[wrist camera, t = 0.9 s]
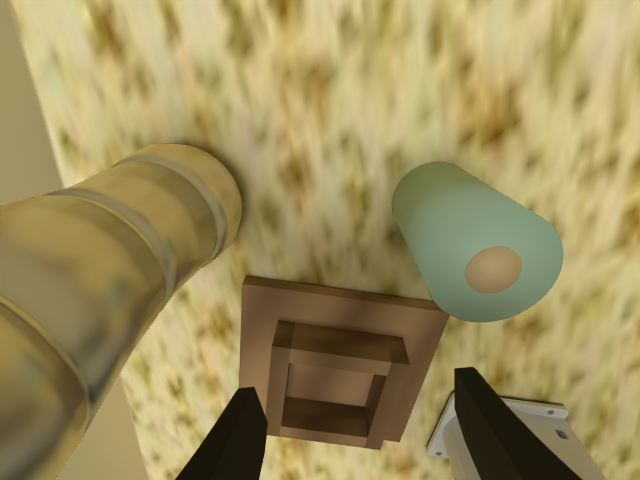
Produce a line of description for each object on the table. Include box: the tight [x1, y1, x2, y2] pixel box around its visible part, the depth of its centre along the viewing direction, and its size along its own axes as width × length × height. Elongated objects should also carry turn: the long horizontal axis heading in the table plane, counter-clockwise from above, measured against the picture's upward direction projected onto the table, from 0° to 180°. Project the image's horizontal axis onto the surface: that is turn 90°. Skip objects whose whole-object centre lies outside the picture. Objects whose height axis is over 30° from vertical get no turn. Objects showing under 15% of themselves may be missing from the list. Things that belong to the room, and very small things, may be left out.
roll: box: [392, 162, 563, 322], centre depth 15 cm, size 5×5×8 cm
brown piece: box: [239, 276, 449, 450], centre depth 23 cm, size 14×14×4 cm
